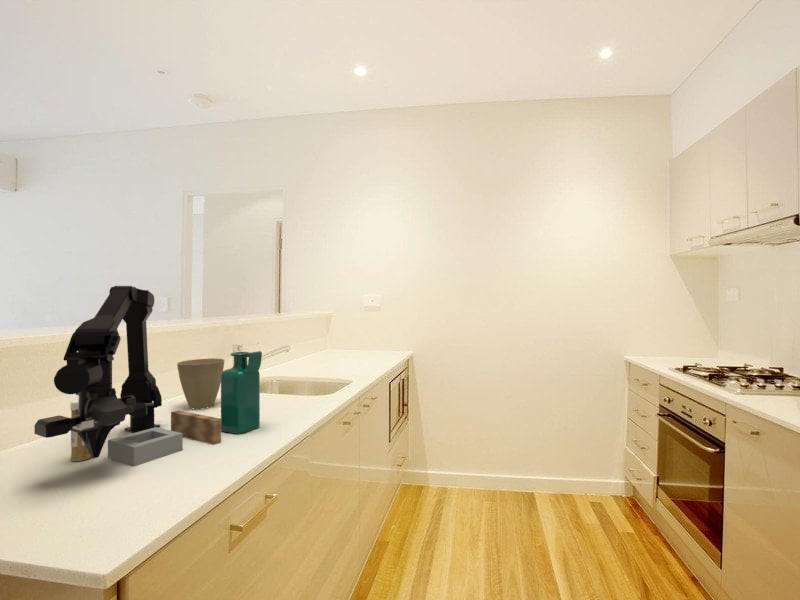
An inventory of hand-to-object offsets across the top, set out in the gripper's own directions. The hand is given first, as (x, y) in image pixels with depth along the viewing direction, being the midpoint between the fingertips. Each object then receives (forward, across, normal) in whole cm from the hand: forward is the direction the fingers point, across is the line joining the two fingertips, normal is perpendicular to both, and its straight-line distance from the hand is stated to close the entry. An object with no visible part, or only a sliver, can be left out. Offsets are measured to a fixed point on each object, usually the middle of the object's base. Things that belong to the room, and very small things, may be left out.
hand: (95, 457), depth 85 cm
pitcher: (+3, +34, -5) cm, 34 cm away
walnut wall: (+2, +23, 0) cm, 23 cm away
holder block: (+2, +10, 0) cm, 11 cm away
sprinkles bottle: (+3, +2, +10) cm, 11 cm away
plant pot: (+3, +45, +29) cm, 54 cm away
